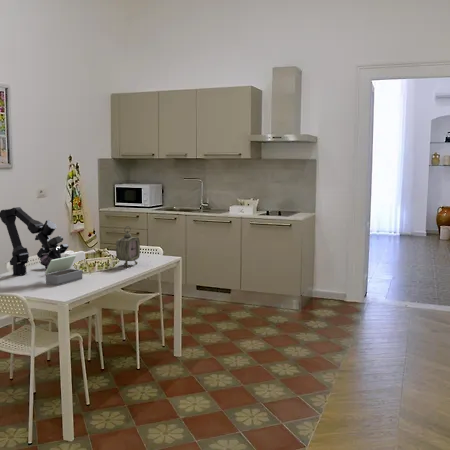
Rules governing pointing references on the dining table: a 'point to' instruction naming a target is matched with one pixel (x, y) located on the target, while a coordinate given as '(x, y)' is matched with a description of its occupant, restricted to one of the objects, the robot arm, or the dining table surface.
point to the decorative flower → (45, 260)
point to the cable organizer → (79, 257)
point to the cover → (60, 264)
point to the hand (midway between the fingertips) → (61, 261)
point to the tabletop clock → (128, 248)
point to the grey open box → (63, 277)
